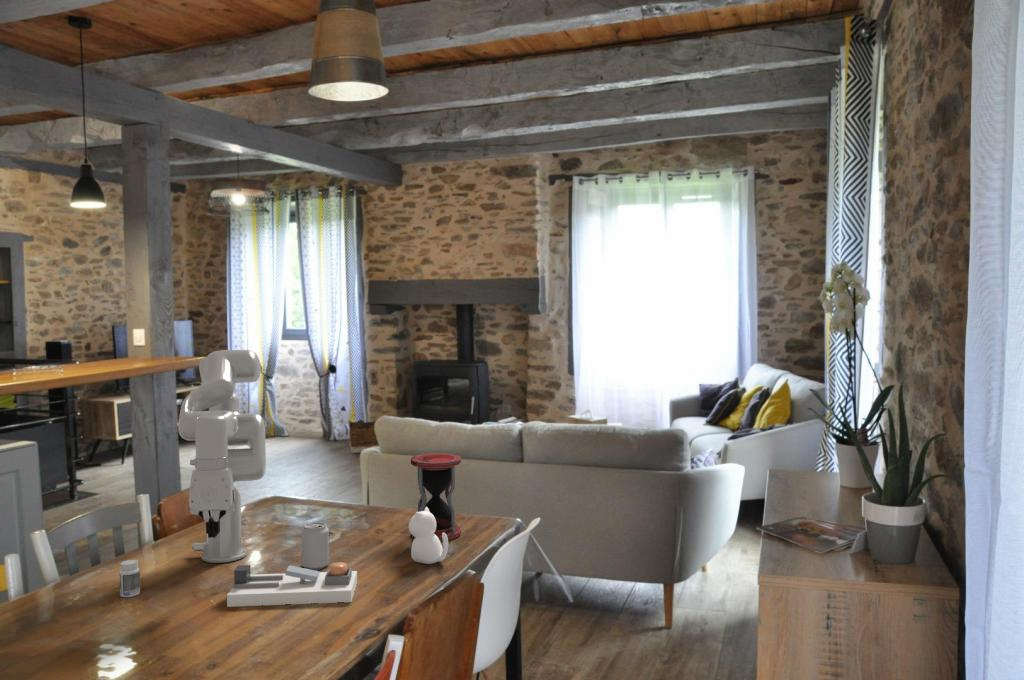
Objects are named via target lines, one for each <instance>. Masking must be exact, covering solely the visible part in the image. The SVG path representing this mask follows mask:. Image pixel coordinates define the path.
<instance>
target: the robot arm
mask: <svg viewBox="0 0 1024 680" xmlns="http://www.w3.org/2000/svg"><path fill="white" fill-rule="evenodd" d="M198 366H199V367H198V368H199V374H200V375H199V376H200V378H201V379H200V380H201V385H200V386H198V387H197V388H195V389H194V390H193V391H191V392H190V393H189V394H188V395H187V396H186V397H185V398H184V399H183V402H182V403H181V405H180V406H181V407H180V412H179V416H178V433H179V436H180V437H181V438H182V439H184V440H186V441H195V458H193V459H190V460H189V465H190V466H194V469H193V470H192V472H191V477H190V483H189V495H188V496H189V498H188V505H189V509H190V510H189V513H190V515H191V514H192V515H197V516H200V518H201V519H202V520H203V521H204V522H205V532H206V541H204V542H195V543H194V542H192V546H191V547H192V549H191V550H193V552H202V553H201V556H200V557H201V560H202V562H206V563H212V564H223V563H231V562H234V561H239V560H241V559H243V558H245V557H246V556H247V555H248V549H247V548H245V547H243V546H242V499H241V494H240V492H239V490H238V489H237V488H236V487H235V486H234V483H236V482H248V481H249V482H250V481H251V482H252V481H259V480H261V479H262V478H263V477H264V476H265V474H266V464H267V463H266V462H267V461H266V459H267V457H266V453H267V452H266V451H267V450H266V449H267V448H266V423H265V420H264V418H263V416H261V415H260V414H258V413H253V412H252V413H249V412H248V413H240V399H239V396H238V395H237V394H236V392H235V388H236V387H235V384H236V383H237V384H243V383H247V384H248V383H256V382H258V380H259V379H260V376H261V372H262V368H261V367H262V365H261V361H260V358H259V356H258V354H257V353H256V351H253V350H248V349H222V350H215V351H212V352H211V353H209V354H208V355H207V356H206V357H203V358H202V359H201V360H200V361H199V365H198ZM207 409H208V410H207ZM236 446H237V447H238V446H239V447H240V446H247V447H249V448H228V447H236Z"/></svg>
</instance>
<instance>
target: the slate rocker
mask: <svg viewBox="0 0 1024 680" xmlns="http://www.w3.org/2000/svg"><path fill="white" fill-rule="evenodd" d="M320 572H321V571H320V570H319V571H318V570H310V569H306V568H305V567H304V568H303V567H300V566H295V565H288V566H287V568H286V571H285V572H284V573H285V575H287V576H292V577H297V578H302V579H307V580H311V581H317V579H318V577H319V573H320Z"/></svg>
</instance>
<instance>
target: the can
mask: <svg viewBox="0 0 1024 680" xmlns="http://www.w3.org/2000/svg"><path fill="white" fill-rule="evenodd" d="M329 530H330V529H329V527H327V523H325V522H323V521H322V522H321V521H312V522H308V523H305V524H304V525H303V529H302V530H301V565H302V566H303V567H304V568H305V569H310V570H315V571H317V570H321V569H324V568H325V567H327V565H329V563H330V544H329Z"/></svg>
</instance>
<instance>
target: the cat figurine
mask: <svg viewBox="0 0 1024 680" xmlns="http://www.w3.org/2000/svg"><path fill="white" fill-rule="evenodd" d="M408 530H409V533H410V535H411V534H412V535H413V536H414V537H416V538H413V541H412V544H411V548H410V550H411V552H410V555H411V559H412V560H413V561H414V562H416V563H422V564H427V565H433V564H436V563H437V562H442V561H443V560H444V559H445V558H446V556H447V555H448V550H449V540H448V538H447V535H446V534H445V533H442V539H443V541H440V540H439V538H438V537H437V536H436V535H435V534H433V533H434V532H435V530H436V520H435V517H434V516H433V514H432V513H430V511H429V509H428V508H427V507H426V508H425V510H424V511H421V512H418V511H416V512H415V514H414V515H413V516H412V517H411V518H410V520H409V522H408ZM441 542H443V543H441ZM442 544H443V545H442Z"/></svg>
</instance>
